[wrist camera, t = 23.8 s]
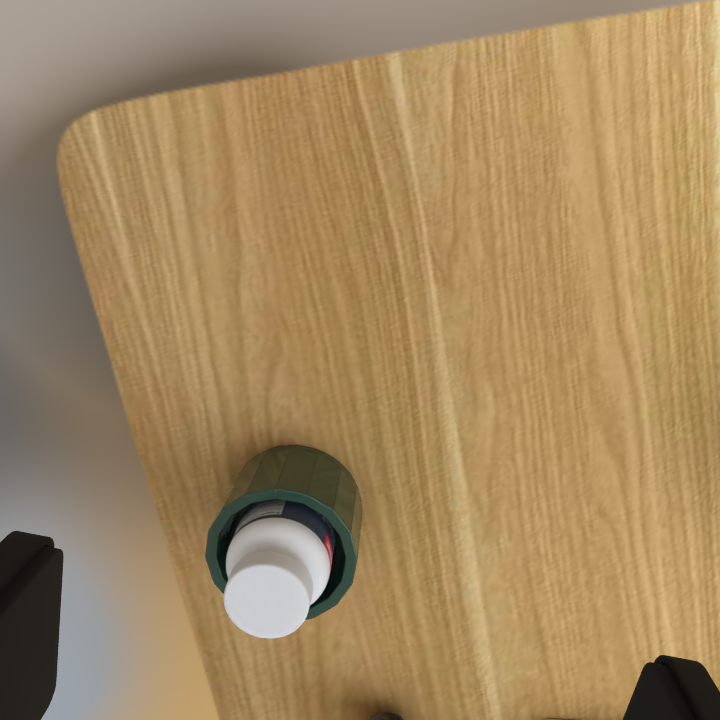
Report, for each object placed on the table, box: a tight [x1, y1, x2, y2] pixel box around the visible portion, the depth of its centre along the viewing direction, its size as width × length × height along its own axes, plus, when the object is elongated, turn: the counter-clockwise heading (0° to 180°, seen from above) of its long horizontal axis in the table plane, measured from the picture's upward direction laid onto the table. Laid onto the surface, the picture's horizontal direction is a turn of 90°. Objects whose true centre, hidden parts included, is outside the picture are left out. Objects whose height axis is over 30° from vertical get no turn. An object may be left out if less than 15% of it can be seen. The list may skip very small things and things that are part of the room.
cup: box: [205, 446, 362, 620], centre depth 37 cm, size 8×8×6 cm
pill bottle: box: [224, 499, 337, 638], centre depth 34 cm, size 5×5×9 cm
